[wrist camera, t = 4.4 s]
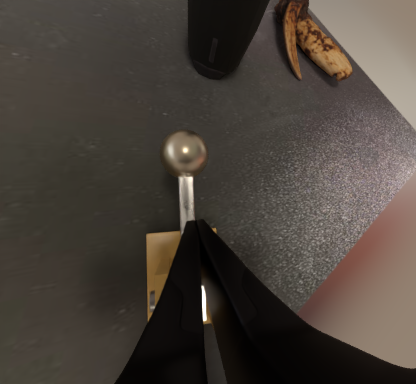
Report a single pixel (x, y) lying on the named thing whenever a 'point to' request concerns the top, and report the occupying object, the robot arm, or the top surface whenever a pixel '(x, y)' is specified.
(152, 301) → the tap bracket
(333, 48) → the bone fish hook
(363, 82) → the top surface
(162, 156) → the tap lever
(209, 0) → the portable speaker
